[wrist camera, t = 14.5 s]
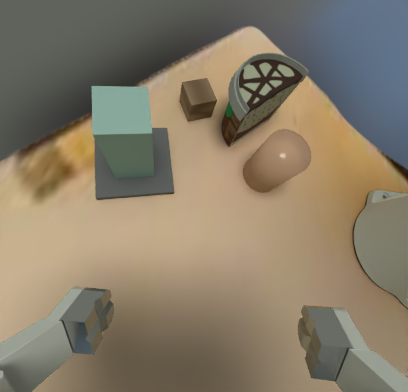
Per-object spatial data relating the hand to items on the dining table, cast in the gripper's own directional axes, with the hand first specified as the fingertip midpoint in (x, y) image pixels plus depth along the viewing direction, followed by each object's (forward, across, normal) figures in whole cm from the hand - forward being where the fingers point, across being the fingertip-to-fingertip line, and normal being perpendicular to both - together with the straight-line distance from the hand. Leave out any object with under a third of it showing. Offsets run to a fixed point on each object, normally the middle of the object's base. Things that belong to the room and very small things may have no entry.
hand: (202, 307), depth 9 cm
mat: (+23, +12, 0) cm, 26 cm away
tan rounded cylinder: (+27, -6, +2) cm, 28 cm away
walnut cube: (+31, +4, -7) cm, 33 cm away
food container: (+33, -3, -6) cm, 33 cm away
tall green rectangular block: (+22, +12, -1) cm, 25 cm away
